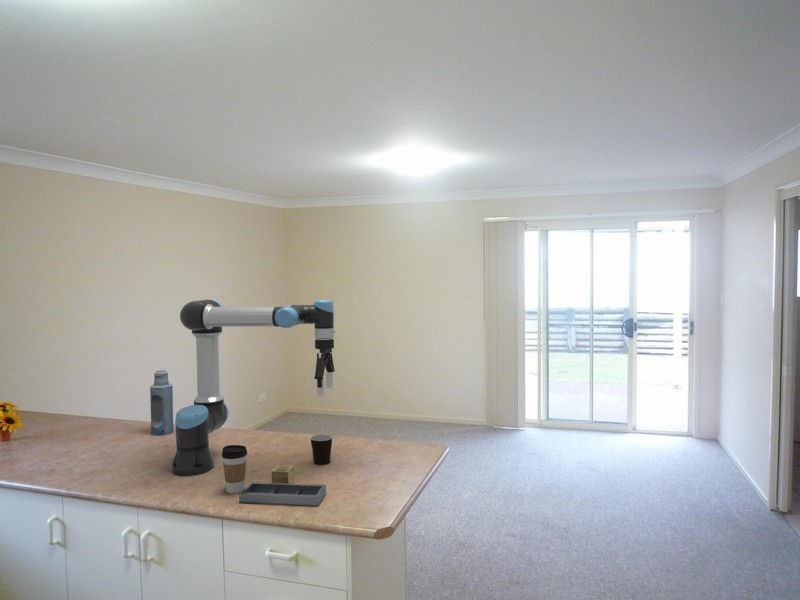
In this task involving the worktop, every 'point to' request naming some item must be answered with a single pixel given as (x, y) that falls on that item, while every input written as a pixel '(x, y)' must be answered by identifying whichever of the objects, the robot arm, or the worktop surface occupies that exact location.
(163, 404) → the bottle
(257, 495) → the grey divided tray
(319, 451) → the coffee mug
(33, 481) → the worktop surface
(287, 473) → the recessed panel cube
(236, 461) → the coffee cup
